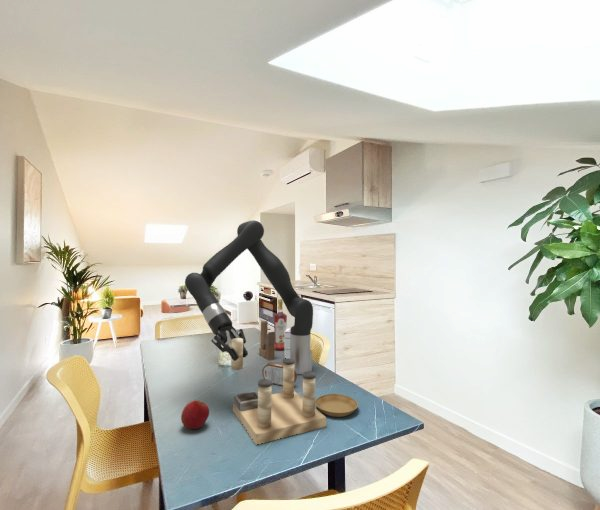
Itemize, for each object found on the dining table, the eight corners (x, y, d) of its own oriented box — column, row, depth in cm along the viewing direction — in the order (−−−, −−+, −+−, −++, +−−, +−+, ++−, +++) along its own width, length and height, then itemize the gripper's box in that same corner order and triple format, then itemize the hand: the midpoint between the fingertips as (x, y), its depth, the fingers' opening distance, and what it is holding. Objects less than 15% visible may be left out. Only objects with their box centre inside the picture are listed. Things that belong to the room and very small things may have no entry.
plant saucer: (362, 405, 120) (362, 398, 120) (351, 424, 107) (351, 416, 107) (323, 397, 127) (323, 391, 127) (308, 414, 113) (308, 406, 113)
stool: (293, 398, 125) (293, 355, 125) (325, 426, 105) (326, 376, 105) (232, 410, 115) (233, 364, 115) (256, 445, 94) (256, 389, 94)
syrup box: (295, 359, 171) (295, 331, 171) (283, 358, 172) (284, 330, 172) (297, 356, 176) (297, 328, 176) (286, 355, 178) (286, 328, 178)
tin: (297, 386, 137) (297, 365, 137) (293, 389, 134) (293, 368, 134) (265, 380, 143) (265, 360, 143) (261, 382, 140) (261, 362, 140)
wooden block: (268, 360, 169) (268, 324, 169) (258, 354, 178) (259, 321, 178) (274, 359, 171) (275, 323, 171) (265, 353, 180) (265, 320, 180)
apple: (201, 435, 99) (202, 408, 99) (176, 432, 101) (176, 405, 101) (212, 422, 107) (213, 397, 107) (189, 419, 108) (189, 395, 108)
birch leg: (240, 365, 120) (241, 337, 120) (244, 369, 116) (244, 340, 116) (229, 367, 118) (230, 338, 118) (232, 370, 114) (233, 341, 114)
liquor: (285, 347, 193) (286, 298, 193) (287, 350, 186) (287, 300, 186) (272, 347, 192) (273, 298, 192) (274, 351, 185) (274, 300, 185)
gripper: (206, 315, 115) (232, 356, 108) (236, 309, 127) (260, 346, 120) (196, 328, 118) (220, 369, 111) (226, 321, 130) (249, 358, 123)
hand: (241, 357), depth 116 cm, fingers closed on birch leg, 4 cm apart
